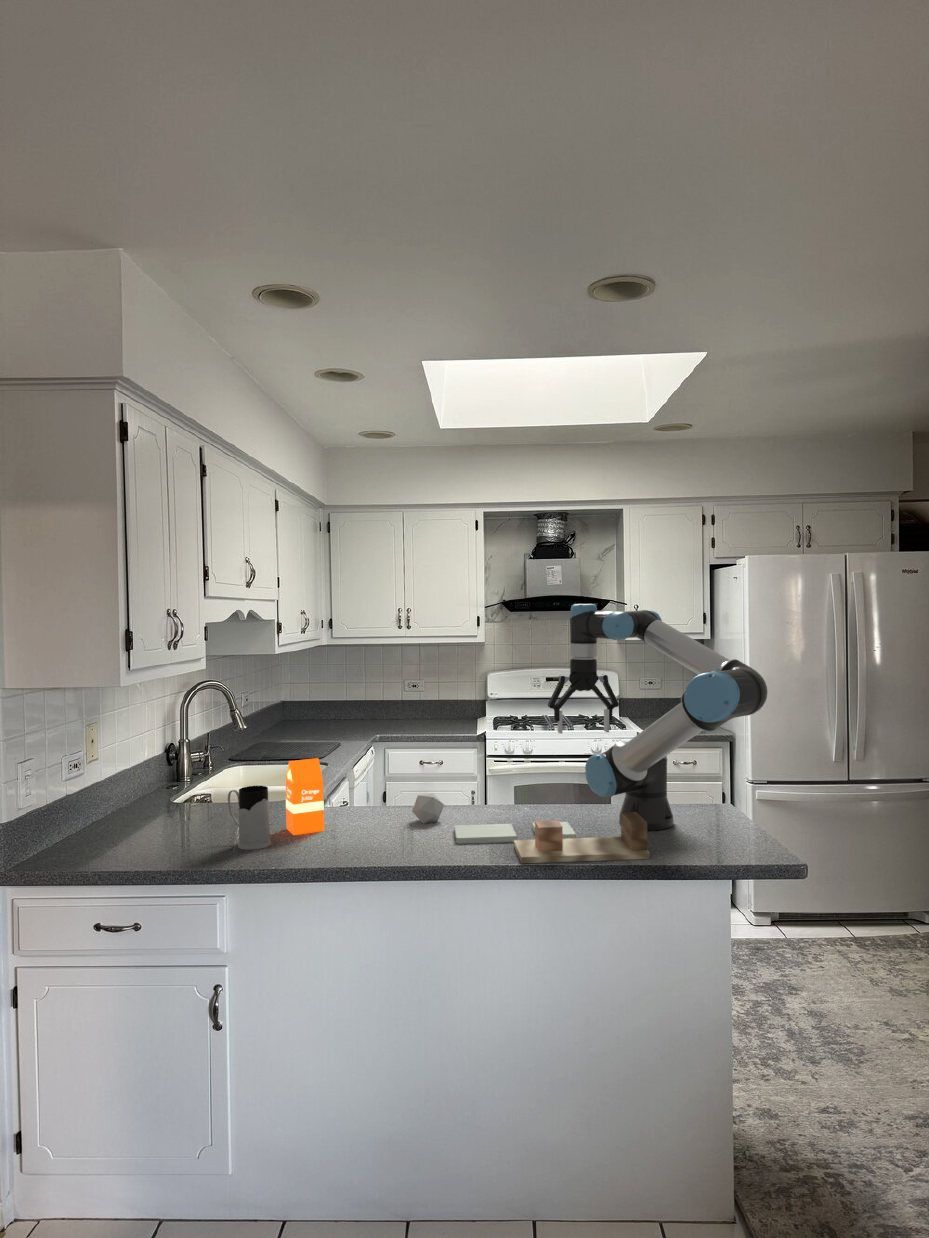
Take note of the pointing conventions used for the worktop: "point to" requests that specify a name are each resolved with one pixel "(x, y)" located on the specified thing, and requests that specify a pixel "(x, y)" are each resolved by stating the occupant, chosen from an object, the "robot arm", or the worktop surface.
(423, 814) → the grey block
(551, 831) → the cube
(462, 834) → the broken strip
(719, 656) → the robot arm
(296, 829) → the orange juice
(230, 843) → the worktop surface
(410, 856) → the worktop surface
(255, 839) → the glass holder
